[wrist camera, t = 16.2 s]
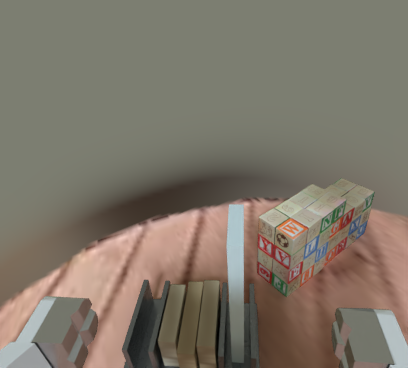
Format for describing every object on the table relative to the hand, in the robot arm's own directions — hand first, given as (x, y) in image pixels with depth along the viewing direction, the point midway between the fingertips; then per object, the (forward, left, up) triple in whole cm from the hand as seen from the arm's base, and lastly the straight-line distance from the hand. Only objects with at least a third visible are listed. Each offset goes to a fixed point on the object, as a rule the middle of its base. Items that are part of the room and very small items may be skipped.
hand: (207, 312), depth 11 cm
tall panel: (-3, -17, -31) cm, 35 cm away
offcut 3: (0, -17, -31) cm, 36 cm away
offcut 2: (+2, -18, -31) cm, 36 cm away
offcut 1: (+5, -18, -31) cm, 36 cm away
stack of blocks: (-19, -31, -32) cm, 49 cm away
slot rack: (+2, -18, -32) cm, 37 cm away
